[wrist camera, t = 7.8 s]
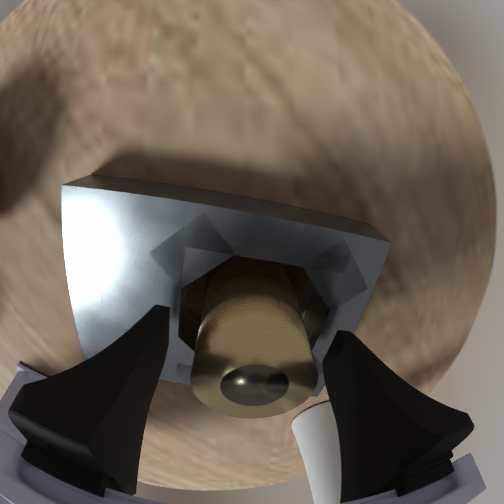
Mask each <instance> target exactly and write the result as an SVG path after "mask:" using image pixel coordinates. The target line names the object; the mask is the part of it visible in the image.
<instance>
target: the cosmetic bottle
mask: <svg viewBox="0 0 504 504" xmlns="http://www.w3.org/2000/svg"><path fill="white" fill-rule="evenodd" d="M292 430H293V432H294V435H295V437H296V440H297V443H298V446H299V449H300V452H301V455H302V458H303V461H304V464H305V468H306V471H307V475H308V479H309V482H310V487H311V490H312V494H313V499H314V503H315V504H340V498H341V456H340V444H339V437H338V430H337V425H336V420H335V417H334V413H333V410H332V406H331V403H330V402H325V403H322V404H318V405H316V406H313V407H311V408H309V409H307V410H305V411H303V412H302V413H300V414H299V415H298V416H297V417H296V418H295V419H294V421H293V422H292Z"/></svg>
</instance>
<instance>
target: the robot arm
mask: <svg viewBox="0 0 504 504" xmlns="http://www.w3.org/2000/svg"><path fill="white" fill-rule="evenodd" d="M169 325H170V307H167V306H162V305H157V304H156V305H154V306H153V307H152V308H151V309H150V310H149V311H148V312H147V313H146V314H145V315H144V316H143V317H142V318H141V319H140V320H139V321H138V322H137V323H135V324H134V325H133V326H132V327H131V328H130V329H129V330H128V331H126V332H125V333H124V334H123V335H122V336H120V337H119V338H118V339H117V340H115V341H114V342H113V343H112V344H110V345H109V346H108V347H106V348H105V349H103V350H102V351H100V352H99V353H97V354H96V355H94V356H93V357H91V358H89V359H87V360H86V361H84V362H82V363H80V364H78V365H76V366H75V367H73V368H70V369H68V370H66V371H64V372H61V373H59V374H56V375H54V376H51V377H46V376H44V375H41V374H39V373H37V372H35V371H33V370H31V369H29V368H27V367H25V366H23V365H21V364H19V363H18V364H17V365H16V368H17V370H18V373H17V374H16V376H15V378H14V379H13V381H12V382H11V384H10V385H9V387H8V389H7V390H6V392H5V394H4V395H3V397H2V399H1V400H0V504H165V503H161V502H156V501H152V500H147V499H143V498H139V497H135V496H132V495H134V494H136V485H137V476H138V467H139V459H140V452H141V446H142V440H143V434H144V429H145V424H146V419H147V414H148V410H149V407H150V403H151V400H152V398H153V395H154V392H155V389H156V386H157V383H158V380H159V377H160V375H161V372H162V369H163V366H164V363H165V359H166V354H167V350H168V346H169ZM322 366H323V374H324V381H325V385H326V388H327V392H328V396H329V399H330V403H331V406H332V410H333V413H334V417H335V420H336V425H337V430H338V437H339V444H340V456H341V498H340V504H467V503H468V502H470V501H471V500H472V499H474V498H475V497H476V496H478V495H479V494H480V493H482V492H483V491H484V490H485V489H486V486H485V484H484V481H483V479H482V476H481V474H480V472H479V470H478V467H477V465H476V463H475V461H474V459H473V456H472V454H471V453H469V454H467V455H465V456H463V457H461V458H459V459H457V460H456V461H454V462H453V463H451V461H450V458H452V457H453V453H452V451H451V450H453V449H454V448H455V447H456V446H457V445H459V444H460V443H461V442H462V441H463V440H464V439H465V438H466V437H467V436H468V435H469V434H470V433H471V432H472V431H473V429H474V424H473V422H472V420H471V419H470V417H469V415H468V414H467V413H465V412H462V411H459V410H456V409H454V408H450V407H448V406H446V405H444V404H442V403H440V402H438V401H435V400H434V399H432V398H430V397H428V396H427V395H425V394H423V393H422V392H420V391H418V390H417V389H415V388H414V387H412V386H411V385H410V384H408V383H407V382H406V381H404V380H403V379H402V378H400V377H399V376H398V375H397V374H395V373H394V372H393V371H392V370H391V369H390V368H388V367H387V366H386V365H385V364H384V363H383V362H382V361H381V360H380V359H379V358H378V357H377V356H376V355H375V354H374V353H373V352H372V351H371V350H369V349H368V348H367V347H366V346H365V345H364V344H363V343H362V342H361V341H360V340H359V339H358V338H357V337H356V336H355V335H354V334H353V333H352V332H350V331H345V330H337V332H336V335H335V337H334V339H333V341H332V343H331V345H330V347H329V349H328V351H327V353H326V355H325V357H324V359H323V361H322Z"/></svg>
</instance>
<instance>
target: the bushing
mask: <svg viewBox="0 0 504 504" xmlns="http://www.w3.org/2000/svg"><path fill="white" fill-rule="evenodd" d="M317 383H318V370H317V366H316V363H315V359H314V356H313V352H312V349H311V345H310V342H309V339H308V335H307V332H306V329H305V325H304V322H303V319H302V315H301V312H300V309H299V306H298V302H297V299H296V296H295V293H294V289H293V286H292V283H291V281H290V278H289V276H288V275H287V273H286V272H285V271H284V270H283V269H282V268H281V267H280V266H278V265H277V264H276V263H274V262H272V261H266V260H260V259H254V258H248V257H241V258H237V259H234V260H231V261H229V262H227V263H225V264H224V265H222V266H221V267H220V268H219V269H218V270H216V272H215V273H214V274H213V275H212V277H211V279H210V281H209V283H208V287H207V292H206V297H205V302H204V307H203V312H202V317H201V322H200V327H199V332H198V337H197V342H196V348H195V353H194V359H193V364H192V370H191V375H190V385H191V388H192V391H193V393H194V394H195V396H196V397H197V398H198V399H199V400H200V401H201V402H202V403H203V404H204V405H206V406H207V407H209V408H210V409H212V410H214V411H216V412H219V413H221V414H225V415H228V416H232V417H238V418H265V417H271V416H275V415H279V414H282V413H285V412H287V411H290V410H292V409H294V408H296V407H297V406H299V405H300V404H302V403H303V402H304V401H306V400H307V399H308V398H309V397H310V396H311V394H312V393H313V392H314V390H315V388H316V386H317Z"/></svg>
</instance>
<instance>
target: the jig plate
mask: <svg viewBox="0 0 504 504" xmlns="http://www.w3.org/2000/svg"><path fill="white" fill-rule="evenodd" d="M62 228H63V243H64V254H65V264H66V272H67V279H68V286H69V292H70V298H71V304H72V309H73V314H74V319H75V324H76V328H77V332H78V336H79V340H80V344H81V348H82V352H83V355H84V359H89V358H91V357H93V356H94V355H96V354H97V353H99V352H100V351H102V350H103V349H105V348H106V347H108V346H109V345H110V344H112V343H113V342H114V341H115V340H117V339H118V338H119V337H120V336H122V335H123V334H124V333H125V332H126V331H128V330H129V329H130V328H131V327H132V326H133V325H134V324H135V323H137V322H138V321H139V320H140V319H141V318H142V317H143V316H144V315H145V314H146V313H147V312H148V311H149V310H150V309H151V308H152V307H153V306H154V305H156V304H157V305H162V306H167V307H170V325H169V346H168V350H167V354H166V359H165V363H164V366H163V369H162V372H161V375H160V377H159V379H160V380H164V381H169V382H174V383H179V384H185V385H190V375H191V370H192V364H193V359H194V353H195V348H196V342H197V337H198V332H199V327H200V322H201V321H200V320H199V319H198V318H197V317H196V316H195V315H194V314H193V313H192V312H191V311H190V310H189V309H188V307H187V295H188V285H189V284H190V283H191V282H193V281H194V280H196V279H197V278H199V277H201V276H202V275H204V274H205V273H207V272H209V271H210V270H212V269H213V268H215V267H216V266H218V265H220V264H221V263H223V262H224V261H226V260H228V259H229V258H231V257H232V256H234V255H237V256H242V257H248V258H254V259H260V260H266V261H272V262H278V263H284V264H290V265H296V266H302V267H303V269H304V270H305V272H306V274H307V275H308V277H309V278H310V280H311V281H312V283H313V285H314V286H315V290H314V293H313V295H312V298H311V301H310V304H309V306H308V309H307V312H306V314H305V317H304V320H303V322H304V325H305V329H306V332H307V335H308V339H309V342H310V345H311V349H312V352H313V356H314V359H315V363H316V366H317V370H318V383H317V386H316V388H315V390H314V392H313V393H312V394H311V396H318V395H319V393H320V392H321V390H322V388H323V387H324V385H325V381H324V374H323V366H322V361H323V359H324V357H325V355H326V353H327V351H328V349H329V347H330V345H331V343H332V341H333V339H334V337H335V335H336V332H337V330H345V331H350V332H352V333H353V332H354V330H355V328H356V326H357V324H358V322H359V320H360V318H361V316H362V314H363V312H364V310H365V307H366V305H367V303H368V301H369V299H370V296H371V294H372V292H373V290H374V287H375V285H376V283H377V280H378V278H379V275H380V273H381V270H382V268H383V265H384V263H385V260H386V258H387V255H388V253H389V250H390V247H391V244H392V242H390V241H389V240H388V239H387V238H385V237H384V236H383V235H382V234H381V233H379V232H378V231H377V230H376V229H374V228H373V227H372V226H370V225H369V224H366V223H362V222H358V221H354V220H350V219H346V218H342V217H338V216H333V215H329V214H325V213H321V212H316V211H312V210H307V209H303V208H298V207H293V206H288V205H284V204H279V203H274V202H269V201H264V200H259V199H253V198H248V197H243V196H237V195H232V194H226V193H220V192H214V191H208V190H202V189H196V188H190V187H183V186H176V185H170V184H162V183H155V182H148V181H140V180H132V179H123V178H115V177H105V176H95V175H88V176H86V177H83V178H80V179H77V180H74V181H71V182H69V183H66V184H63V185H62ZM190 386H191V385H190Z"/></svg>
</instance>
